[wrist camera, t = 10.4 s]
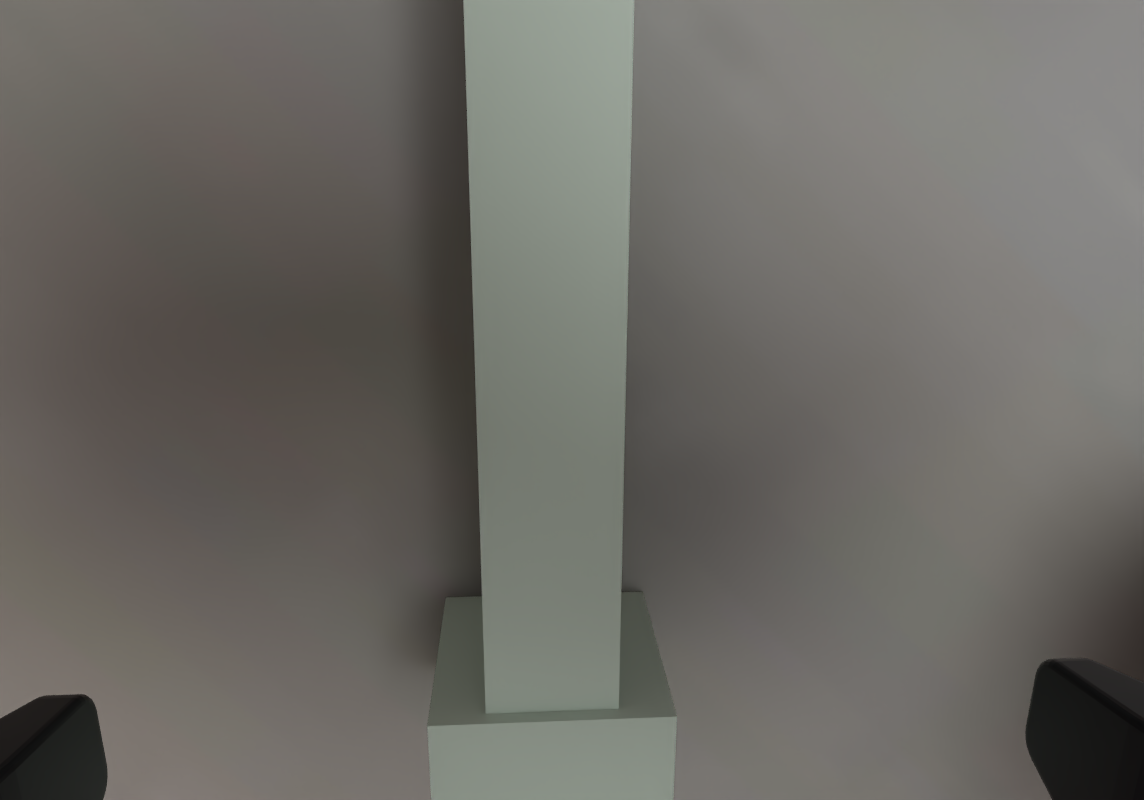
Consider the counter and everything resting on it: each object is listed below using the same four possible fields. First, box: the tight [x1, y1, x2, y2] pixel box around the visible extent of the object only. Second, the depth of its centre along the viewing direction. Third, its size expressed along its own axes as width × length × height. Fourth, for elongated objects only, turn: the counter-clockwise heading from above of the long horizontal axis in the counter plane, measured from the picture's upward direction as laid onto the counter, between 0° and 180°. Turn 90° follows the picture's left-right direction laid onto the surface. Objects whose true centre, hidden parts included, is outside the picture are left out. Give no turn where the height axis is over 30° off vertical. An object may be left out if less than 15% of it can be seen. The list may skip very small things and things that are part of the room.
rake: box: [427, 0, 677, 800], centre depth 17 cm, size 23×12×5 cm, turn 0°
